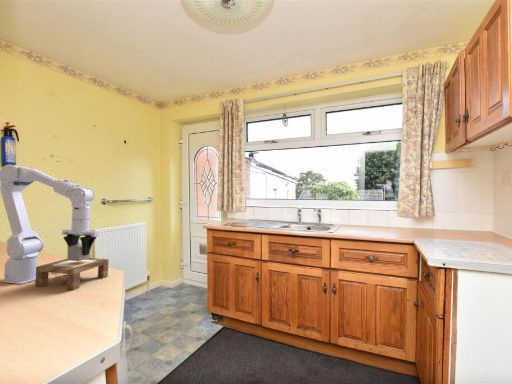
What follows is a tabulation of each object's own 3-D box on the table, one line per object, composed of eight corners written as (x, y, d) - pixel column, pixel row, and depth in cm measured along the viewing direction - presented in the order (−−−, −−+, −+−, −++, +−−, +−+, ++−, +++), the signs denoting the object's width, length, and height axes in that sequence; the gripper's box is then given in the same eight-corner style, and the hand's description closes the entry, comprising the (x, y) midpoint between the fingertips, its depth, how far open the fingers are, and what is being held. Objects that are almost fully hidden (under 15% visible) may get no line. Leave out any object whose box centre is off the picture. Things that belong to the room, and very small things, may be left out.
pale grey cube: (67, 260, 95) (67, 247, 94) (79, 256, 99) (79, 244, 99) (78, 261, 94) (79, 247, 94) (89, 257, 99) (90, 244, 99)
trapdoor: (51, 267, 93) (51, 264, 93) (74, 261, 103) (75, 258, 103) (74, 270, 91) (74, 267, 91) (96, 263, 101) (96, 260, 101)
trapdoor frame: (35, 286, 90) (36, 266, 91) (74, 273, 106) (75, 256, 106) (73, 290, 88) (74, 270, 88) (107, 276, 103) (108, 259, 104)
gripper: (55, 219, 94) (53, 255, 94) (88, 221, 92) (87, 258, 92) (72, 217, 101) (70, 251, 101) (103, 219, 99) (102, 253, 99)
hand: (79, 254), depth 97 cm, fingers closed on pale grey cube, 5 cm apart
